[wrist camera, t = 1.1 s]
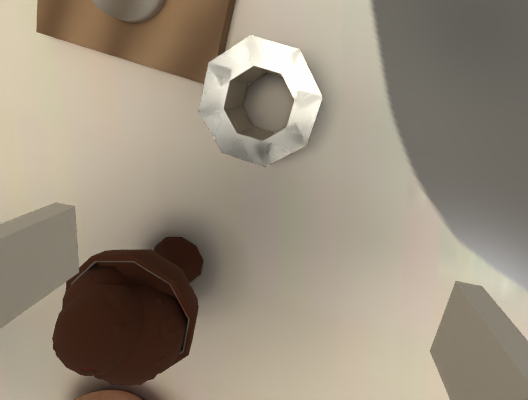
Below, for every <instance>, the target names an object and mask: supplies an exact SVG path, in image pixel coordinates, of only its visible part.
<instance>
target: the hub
mask: <svg viewBox="0 0 528 400" xmlns="http://www.w3.org/2000/svg"><path fill="white" fill-rule="evenodd" d="M266 73H272V74H275V75H278V76H282V77H283V78H284V80H285V82H286V84H287V86H288V88H289V90H290V92H291V94H292V96H293V98H294V100H295V101H294V104H293V107H292V111H291V114H290V117H289V121H288V124H287V126H285V127H283V128H282V129H280V130H278V131H276V132H270V131H267V130H264V129H261V128H258V127H254V126H253V124H252V122H251V121H250V119H249V117H248V115H247V113H246V111H245V109H244V107H243V104H244V101H245V97H246V93H247V89H248V85H249V84H250V83H251V82H253V81H255V80H256V79H258V78H260V77H261V76H263V75H265V74H266ZM322 98H323V96H322V95H321V93H320V91H319V89H318V87H317V84H316V82H315V80H314V78H313V76H312V74H311V72H310V70H309V68H308V66H307V64H306V62H305V59H304V57H303V55H302V52H301V50H300V49H297V48H293V47H290V46H286V45H283V44H280V43H276V42H273V41H269V40H266V39H263V38H259V37H256V36H252V35H250V36H248V37H247V38H245V39H244V40H242V41H241V42H239V43H238V44H236V45H235V46H233V47H232V48H230V49H229V50H227V51H226V52H224V53H223V54H221V55H219V56H218V57H216V58H215V59H213V60H212V61H210V62H209V63H208V68H207V73H206V78H205V83H204V88H203V92H202V97H201V102H200V107H199V113H200V115H201V117H202V118H203V120H204V122H205V124H206V126H207V127H208V129H209V131H210V133H211V134H212V136H213V138H214V140H215V141H216V143H217V145H218V147H219V149H220V150H221V153H224V154H227V155H230V156H233V157H236V158H239V159H242V160H245V161H248V162H252V163H255V164H258V165H261V166H264V167H266V166H268V165H270V164H272V163H274V162H276V161H277V160H279V159H281V158H283V157H285V156H287V155H289V154H291V153H293V152H295V151H297V150H299V149H301V148H303V147H305V146H307V144H308V141H309V137H310V134H311V131H312V128H313V125H314V122H315V119H316V116H317V113H318V110H319V107H320V104H321V101H322Z"/></svg>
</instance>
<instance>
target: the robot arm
mask: <svg viewBox="0 0 528 400" xmlns="http://www.w3.org/2000/svg"><path fill="white" fill-rule="evenodd" d="M77 273H79V261H78V246H77V231H76V216H75V206H71V205H66V204H61V203H54V204H51V205H48V206H46V207H43V208H41V209H38V210H36V211H33V212H31V213H28V214H25V215H23V216H20V217H18V218H15V219H13V220H10V221H7V222H5V223H2V224H0V328H2V327H3V326H4V325H6V324H7V323H9V322H10V321H11V320H13V319H14V318H16V317H17V316H18V315H20V314H21V313H23V312H24V311H25V310H27V309H28V308H30V307H31V306H32V305H34V304H35V303H37V302H38V301H39V300H41V299H42V298H44V297H45V296H47V295H48V294H49V293H51V292H52V291H54V290H55V289H56V288H58V287H59V286H61V285H62V284H63V283H65V282H66V281H68V280H69V279H70V278H72V277H73V276H75V275H76V274H77ZM430 352H431V355H432V357H433V360H434V362H435V364H436V367H437V369H438V372H439V374H440V376H441V379H442V381H443V384H444V386H445V388H446V391H447V393H448V396H449V398H450V400H528V341H527V339H526V338H525V337H524V336H523V335H522V333H521V332H520V331H519V330H518V329H517V327H516V326H515V325H514V324H513V323H512V322H511V320H510V319H509V318H508V317H507V316H506V314H505V313H504V312H503V311H502V310H501V308H500V307H499V306H498V305H497V304H496V302H495V301H494V300H493V299H492V298H491V296H490V295H489V294H488V293H487V292H486V290H485V289H484V288H483V287H482V286H479V285H473V284H468V283H463V282H458V281H456V282H455V284H454V287H453V290H452V292H451V295H450V298H449V301H448V303H447V306H446V309H445V311H444V314H443V317H442V320H441V322H440V325H439V328H438V330H437V333H436V336H435V338H434V341H433V344H432V347H431V349H430Z"/></svg>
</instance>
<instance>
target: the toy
mask: <svg viewBox="0 0 528 400" xmlns="http://www.w3.org/2000/svg"><path fill="white" fill-rule="evenodd" d="M74 400H143V399H142V398H140V397H139V396H137V395H135V394H133V393H130V392H126V391H121V390H102V391H97V392H92V393H88V394H86V395H83V396H81V397H79V398H77V399H74Z"/></svg>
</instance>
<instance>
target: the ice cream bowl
mask: <svg viewBox="0 0 528 400" xmlns="http://www.w3.org/2000/svg"><path fill="white" fill-rule="evenodd" d="M202 264H203V259H202V257H201V255H200V253H199V251H198V249H197V247H196V246H195V245H194V244H192V243H190V242H189V241H187V240H186V239H184V238H182V237H166V238H165V239H164V240H162V241H161V242H160V243H159V244H158V245H157V246H156V247H155V249H154V251H152V250H108V251H104V252H101V253H99V254H96V255H93V256H91V257H90V258H89V259H88V260H87V261H86V262H85V263H84V264H83V265H82V266H81V267H80V268H79V273H77V274H76V275H75V276H73V277H72V278H70V279H69V280H68V281H66V292H65V295H64V298H63V306H62V311H61V312H60V313H59V316H58V319H57V322H56V325H55V329H54V334H53V338H52V339H53V349H54V350H55V352H56V356H57V357H58V358H59V359H60V360H61V362H62V363H63V364H64V365H65V366H66V367H67V368H69V369H71V370H72V371H75V372H76V373H78V374H80V375H83V376H93V375H94V377H95V378H98V379H103V380H105V381H107V382H108V383H110V384H115V385H141V384H142V383H144V382H146V381H148V380H151V379H154V378H155V377H156V375H157V374H159V373H162V372H163V371H165V370H166V369H168V368H169V367H171V366H172V365H174V364H175V363H177V362H178V361H180V360H182V359H183V358H185V357H186V356H188V355H189V351H190V347H191V343H192V339H193V334H194V329H195V324H196V318H197V313H198V299H197V297H196V295H195V293H194V291H193V289H192V287H191V286H190V284H189V283H190V282H191V281H192V280H194V279H195V278H196V277H198V276H199V275H200V274H201V269H202Z"/></svg>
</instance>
